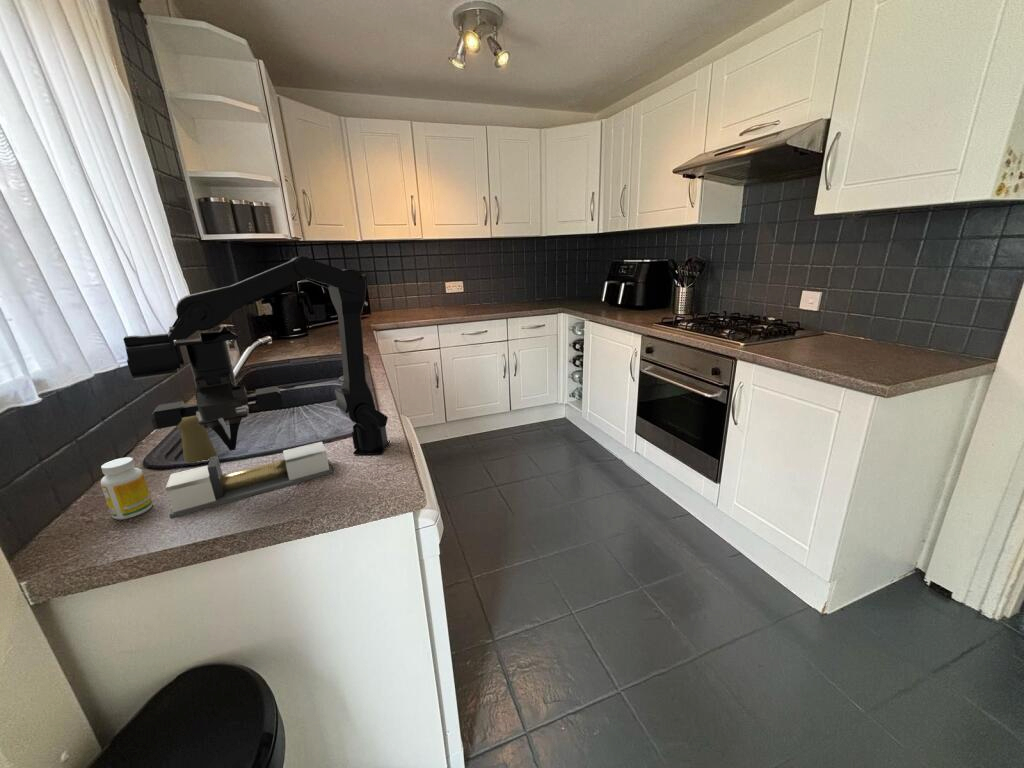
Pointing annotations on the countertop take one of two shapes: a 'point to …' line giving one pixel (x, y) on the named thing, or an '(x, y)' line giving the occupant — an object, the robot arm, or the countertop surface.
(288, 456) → the sleeve
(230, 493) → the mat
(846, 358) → the countertop surface
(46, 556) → the countertop surface
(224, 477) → the bolt
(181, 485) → the socket
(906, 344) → the countertop surface
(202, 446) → the cork
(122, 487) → the supplement bottle
